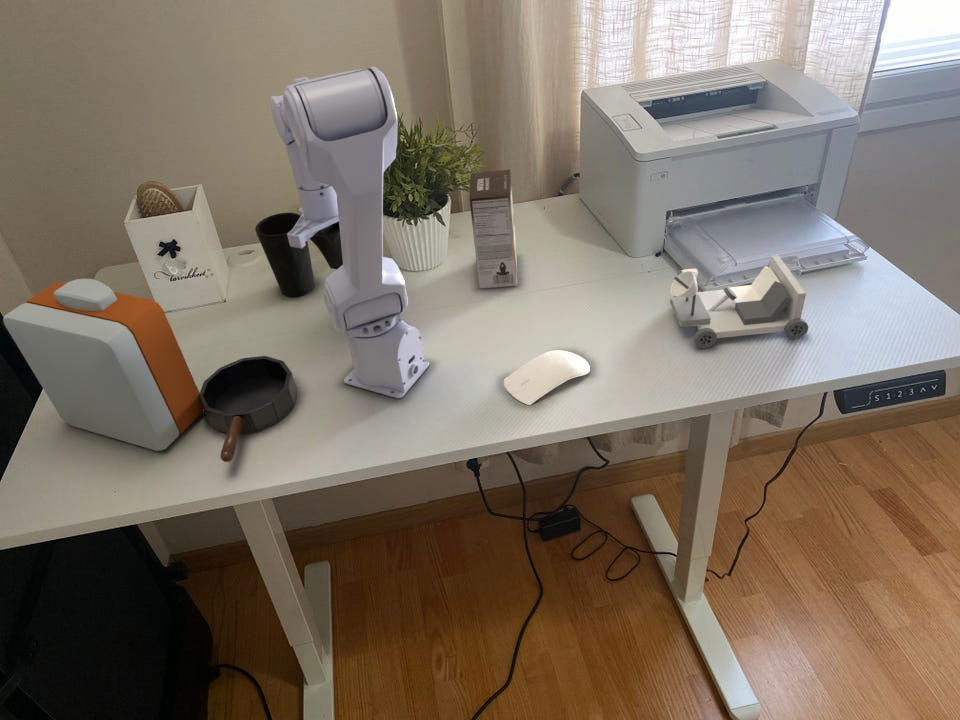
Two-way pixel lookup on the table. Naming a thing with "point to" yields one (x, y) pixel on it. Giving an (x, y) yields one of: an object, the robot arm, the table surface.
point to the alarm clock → (107, 362)
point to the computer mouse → (544, 375)
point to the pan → (247, 398)
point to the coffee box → (493, 228)
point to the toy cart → (741, 305)
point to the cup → (286, 255)
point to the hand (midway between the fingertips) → (338, 266)
